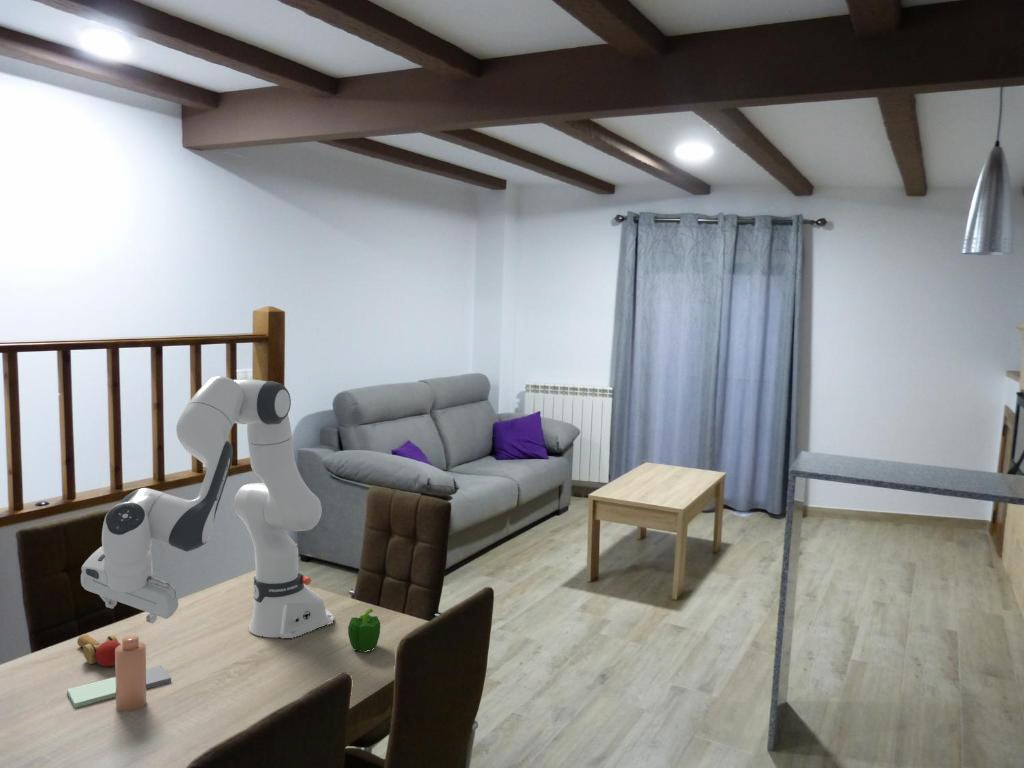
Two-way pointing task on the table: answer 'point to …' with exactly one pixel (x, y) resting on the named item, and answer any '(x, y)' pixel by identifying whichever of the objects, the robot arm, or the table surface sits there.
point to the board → (112, 687)
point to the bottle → (130, 674)
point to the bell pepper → (364, 632)
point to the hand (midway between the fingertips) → (131, 613)
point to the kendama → (99, 650)
